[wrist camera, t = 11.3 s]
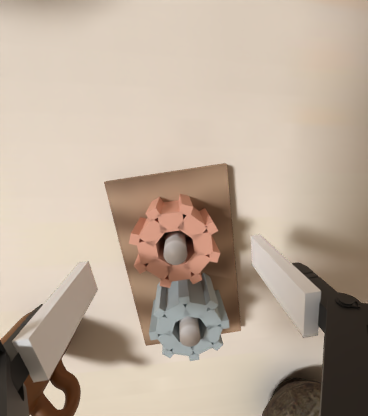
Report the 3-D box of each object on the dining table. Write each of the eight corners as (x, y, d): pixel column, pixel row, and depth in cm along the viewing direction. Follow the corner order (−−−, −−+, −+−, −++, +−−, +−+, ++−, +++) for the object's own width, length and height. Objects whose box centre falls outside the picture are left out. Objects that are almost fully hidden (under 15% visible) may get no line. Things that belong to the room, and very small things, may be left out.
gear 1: (133, 200, 22) (121, 212, 17) (206, 189, 22) (215, 199, 18) (146, 265, 25) (139, 292, 20) (213, 256, 25) (222, 280, 20)
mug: (111, 333, 29) (82, 415, 19) (88, 366, 30) (50, 458, 21) (32, 298, 26) (-42, 372, 17) (11, 336, 28) (-67, 423, 19)
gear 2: (142, 290, 25) (134, 321, 21) (198, 258, 25) (204, 283, 20) (176, 333, 28) (176, 370, 23) (229, 305, 27) (241, 338, 22)
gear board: (107, 181, 23) (78, 191, 16) (224, 163, 23) (245, 166, 16) (146, 338, 29) (138, 395, 22) (238, 323, 29) (258, 376, 22)
